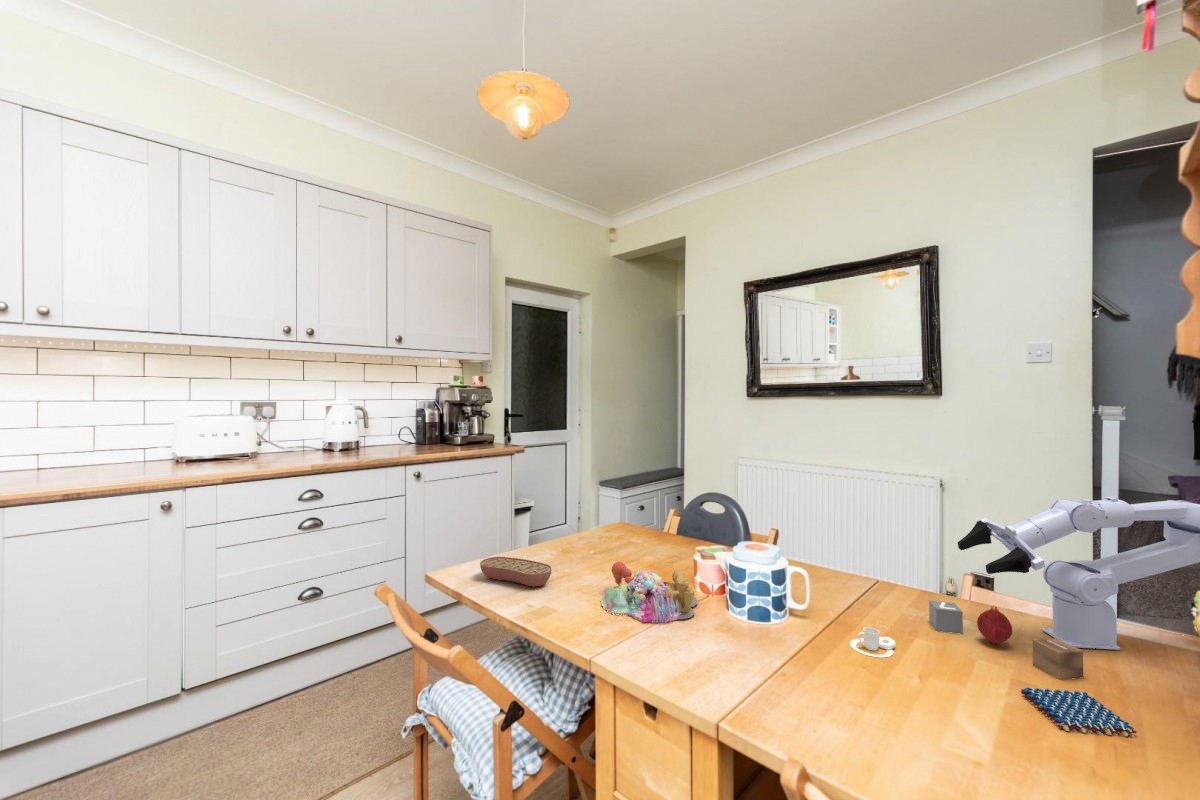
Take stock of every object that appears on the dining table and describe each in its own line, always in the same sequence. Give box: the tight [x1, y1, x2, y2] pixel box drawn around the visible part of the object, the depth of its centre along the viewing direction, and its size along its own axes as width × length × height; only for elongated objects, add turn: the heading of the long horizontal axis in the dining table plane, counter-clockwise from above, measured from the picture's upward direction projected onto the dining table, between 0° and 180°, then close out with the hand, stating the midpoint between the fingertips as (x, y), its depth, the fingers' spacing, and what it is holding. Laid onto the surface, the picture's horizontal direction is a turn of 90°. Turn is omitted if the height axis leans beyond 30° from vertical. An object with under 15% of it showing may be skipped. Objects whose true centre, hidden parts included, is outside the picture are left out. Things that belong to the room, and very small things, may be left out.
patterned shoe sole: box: [479, 556, 552, 588], centre depth 144 cm, size 23×10×5 cm, turn 63°
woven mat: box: [1020, 686, 1137, 738], centre depth 82 cm, size 10×11×2 cm
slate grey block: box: [928, 600, 964, 635], centre depth 113 cm, size 5×5×5 cm
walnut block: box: [1032, 637, 1084, 681], centre depth 95 cm, size 5×5×5 cm
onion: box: [976, 604, 1013, 645], centre depth 105 cm, size 6×6×8 cm
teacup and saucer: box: [849, 626, 897, 659], centre depth 104 cm, size 9×8×4 cm
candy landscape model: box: [600, 561, 699, 625], centre depth 128 cm, size 25×24×9 cm
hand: (972, 557), depth 108 cm, fingers open, 7 cm apart
